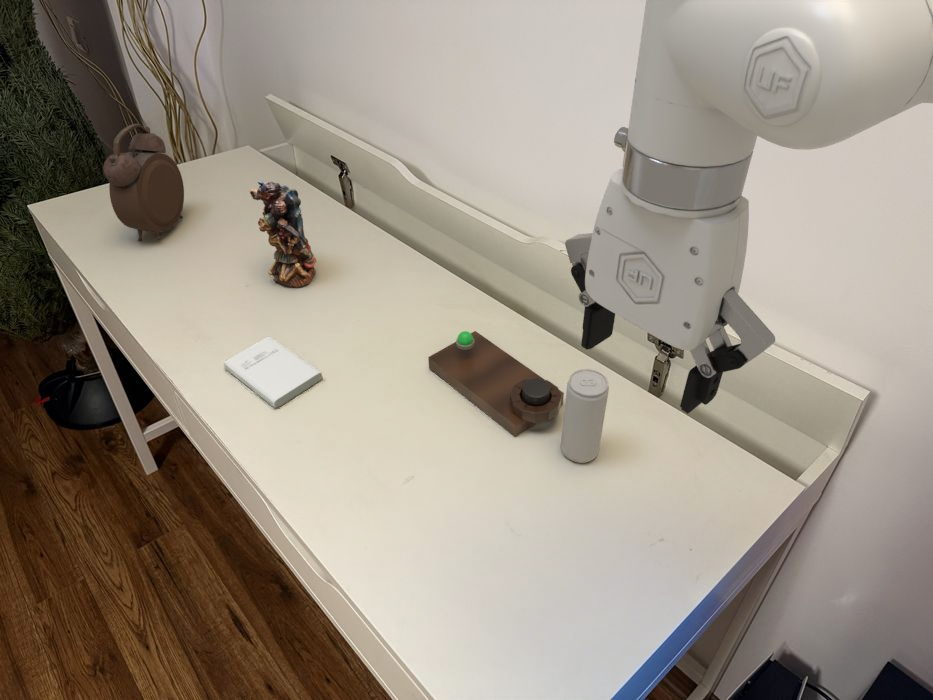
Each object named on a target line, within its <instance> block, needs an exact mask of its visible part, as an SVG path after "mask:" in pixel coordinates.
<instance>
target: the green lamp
mask: <svg viewBox="0 0 933 700" xmlns="http://www.w3.org/2000/svg"><path fill="white" fill-rule="evenodd" d="M471 333H472V332H470V331H467V330H465V331H464V330H463V331H461V332H459V334H458V335H457V338H456V339H455V342H456V345H457V347H458V348H460V349H463V350H467V349H471V348H472V347H473V346H474V344H475V341H474V338H473V336H472V334H471Z"/></svg>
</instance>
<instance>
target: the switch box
mask: <svg viewBox="0 0 933 700" xmlns="http://www.w3.org/2000/svg"><path fill="white" fill-rule="evenodd" d="M470 333H471V334H472V336H473V338H474V341H475V344H474V346H473V347H472V348H471V349H467V350H463V349H460V348H458V347H457V345H456V341H454V342H452V343H450V344H449V345H447V346H445V347H444V348H441V349H440V350H438V351H437V352H435V353H433V354H431V355H429V356H428V357H427V358H428V369H429V370H430V371H431V372H432V373H434V374H436V376H438V378H441V380H442V381H444V382H445V383H446V384H447V385H449V386H450V387H452V389H454V390H455V391H457V392H458V393H459V394H461V396H463V397H464V398H465V399H467V400H468V401H469V402H471V403H472V404H473V405H474V406H476V407H477V408H478V409H479V410H480V411H482V412H483V413H484V414H485V415H486V416H488V417H489V418H490V419H492V421H494V422H495V423H497V424H498V425H499V426H500V427H502V428H503V429H505V431H507V432H508V433H510V434H511V435H512V436H513V437H514V438H515V437H516V438H517V437H518V436H519V435H521V434H522V433H523V432H525V431H527V430H528V429H529V428H531V427H532V426H534V425H535V424H539V423H545V422H549V421H550V420H552V419H553V418H555V417H557V416H558V415H559V412H560V409H561V406H563V403H564V395H565V393H564V391H561V390H560V389H559V387H558V386H557V385H555V384H554V383H553V382H551V381H549V380H548V379H545V378H543V377H542V376H541V375H539V374H538V373H536V372H535V371H533V370H532V369H530V368H529V367H528V366H526V365H525V364H523V363H522V362H521V361H519V360H517V359H516V357H513V356H512V355H510V354H509V353H507V351H504V350H503V349H502V348H500V347H499V346H498V345H497V344H495V343H493V341H490V340H489V339H488V338H486V337H485V336H483V335H482V334H481V333H479V332H478V331H476V330H474V331H472V332H470ZM533 378H538V379H542V380H544V381H546V382H547V383H548V384H549V386H550V397H549V401H548V402H547V403H546V404H545V405H543V406H538V407H534V406H530V405H528V404H526V403H525V402H524V401H523V399H522V386H523V384H524V382H525V381H527V380H529V379H533Z"/></svg>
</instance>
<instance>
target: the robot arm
mask: <svg viewBox="0 0 933 700" xmlns="http://www.w3.org/2000/svg"><path fill="white" fill-rule="evenodd" d="M642 20H643V21H642V28H641V35H640V43H639V48H638V49H639V50H638V55H637V56H638V57H637V64H636V71H635V79H634V84H633V85H634V86H633V91H632V99H631V105H630V112H629V113H630V114H629V122H628V127H626V126H622V127H619V129H617V131H616V133H615V135H614V138H613V143H614V146H615V147H617V148H619V149H621V150H622V151H623V153H624V154H623V159H622V160H623V161H622V168H619V169H617V170H616V171H614V172H613V173H612V174H611V176H610V179H609V181H608V184H607V186H606V189H605V191H604V193H603V197H602V199H601V202H600V205H599V208H598V212H597V216H596V218H595V223H594V227H593V230H592V232H590V233H578V234H576V235H574V236H572V237H569V238H568V239H566V240H565V243H564V244H565V245H564V246H565V250H566V253H567V257H568V260H569V263H570V264H572V266H571V267H570V274H571V276H572V278H573V280H574V282H575V284H576V286H577V288H578V289H579V291H580V293H579V294H578V301H579V303H580V304H581V305H582V306H583V307H584V310H583V311H584V312H583V318H582V319H583V320H582V333H581V334H582V336H581V342H580V343H581V344H580V346H581V347H582V348H583V349H584V350H586V351H587V350H592V349H593V348H595V347H596V346H598V345H600V344H601V343H602V342H604V341H606V340H608V339H609V338H610V337H612V335H613V331H614V324H615V319H616V316H618V317H619V318H621V319H623V320H624V321H627V322H628V323H630V324H632V325H634V326H635V327H637V328H639V329H640V330H641V331H644V332H646V333H648V334H649V335H651V336H653V337H654V338H656V339H658V340H660V341H661V342H663V343H665V344H667V345H670V347H674V348H676V349H679V350H682V351H689V352H690V355H691V356H692V359H693V361H694V363H695V366H693V367H692V368H691V369H689V371H688V374H687V377H686V382H685V385H684V389H683V392H682V396H681V401H680V405H679V407H680V410H681V411H683V412H684V413H686V414H690V413H691V412H692V411H694V410H695V409H697V408H698V406H700V405H701V404H703V405H704V406H706V405H708V404H709V403H711V402H712V401H713V400H714V398H715V397H716V395H717V393H718V391H719V387H720V384H721V380H722V377H723V374H724V373H726V372H730V371H735V370H739V369H741V368H742V367H743V366H745V365H746V364H748V363H749V362H751V361H752V360H754V359H755V358H757V357H758V356H759V355H761V354H762V353H764V352H765V351H766V350H768V349H769V348H770V347H772V345H774V344H775V342H776V336H775V334H774V333H773V332H772V331H771V330H770V328H769V327H767V325H766V324H765V323H764V322H763V321H762V319H761V318H760V317H759V316H758V315H757V314H756V313H755V311H754V310H753V309H752V308H751V307H750V306H749V305H748V303H746V302H745V300H744V299H743V298H742V297H741V296H740V295H739V292H740V289H741V284H742V279H743V273H744V268H745V261H746V256H747V248H748V240H749V239H748V237H749V223H750V206H749V205H750V202H749V201H750V200H749V199H747V198H746V197H745V196H743V192H744V188H745V184H746V180H747V177H748V173H749V169H750V165H751V161H752V157H753V154H754V150H755V146H756V143H757V139H758V137H759V138H761V139H763V140H765V141H766V142H769V143H771V144H774V145H777V146H780V147H783V148H787V149H792V150H802V151H803V150H805V151H807V150H808V151H810V150H818V149H823V148H826V147H830V146H833V145H837V144H838V143H841V142H843V141H847V140H848V139H850V138H852V137H855V136H856V135H858V134H860V133H862V132H864V131H867V130H868V129H870V128H873V127H875V126H876V125H879V124H880V123H883V122H884V121H887V120H889V119H891V118H893V117H895V116H897V115H900V114H901V113H904V112H906V111H907V110H910V109H911V108H914V107H916V106H918V105H921V104H933V0H645V6H644V14H643V19H642ZM726 326H729V327H730V328H731V329H732V331H734V332H735V334H736V335H737V336H738V337H739V339H740V343H737V344H732V342H731V340H730V337H729V335H728V333H727V330H726V328H725V327H726ZM707 339H708V340H709V342H710V344H711V347H712V349H713V350H712V351H711V349H710V348H709V345H708V342H707Z"/></svg>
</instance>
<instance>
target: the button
mask: <svg viewBox="0 0 933 700" xmlns="http://www.w3.org/2000/svg"><path fill="white" fill-rule="evenodd" d="M549 397H550V386H549V384H548V383H547V382H546V381H544V380H542V379H538V378H533V379H529V380H527V381H525V382H524V384H523V386H522V399H523V401H524V402H525V403H526V404H528V405H530V406H534V407H538V406H543V405H545V404H546V403H547V402H548V401H549Z"/></svg>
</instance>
